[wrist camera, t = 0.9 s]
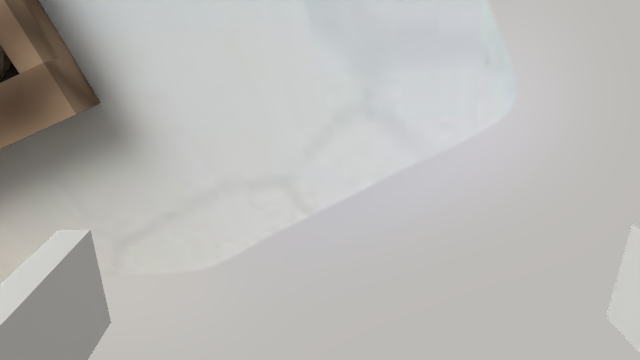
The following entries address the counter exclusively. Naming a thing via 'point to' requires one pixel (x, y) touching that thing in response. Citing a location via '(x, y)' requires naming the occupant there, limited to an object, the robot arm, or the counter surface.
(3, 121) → the console
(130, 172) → the counter surface
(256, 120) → the counter surface
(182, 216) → the counter surface
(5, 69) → the button cream
